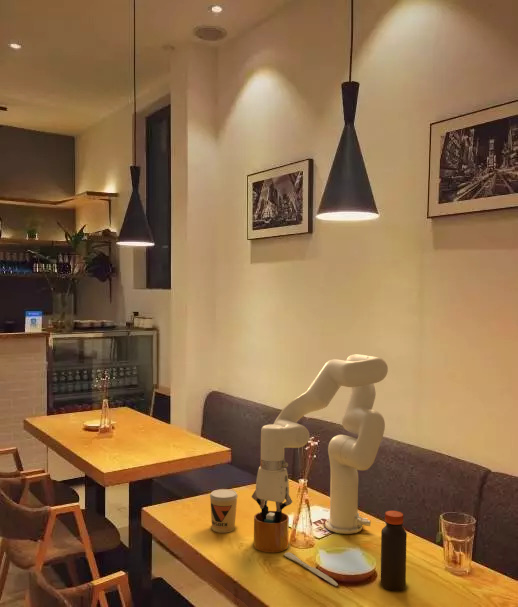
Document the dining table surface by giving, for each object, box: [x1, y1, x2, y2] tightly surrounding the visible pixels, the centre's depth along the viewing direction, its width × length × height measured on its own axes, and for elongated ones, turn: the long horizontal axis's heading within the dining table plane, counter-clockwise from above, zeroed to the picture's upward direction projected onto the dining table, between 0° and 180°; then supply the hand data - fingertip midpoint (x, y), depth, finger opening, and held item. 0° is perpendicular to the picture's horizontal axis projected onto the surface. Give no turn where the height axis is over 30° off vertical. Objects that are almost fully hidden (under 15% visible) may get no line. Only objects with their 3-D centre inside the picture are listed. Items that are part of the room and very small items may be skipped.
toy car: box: [264, 512, 275, 523], centre depth 190 cm, size 6×3×3 cm, turn 156°
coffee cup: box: [209, 488, 238, 534], centre depth 203 cm, size 9×9×12 cm
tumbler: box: [253, 510, 290, 553], centre depth 190 cm, size 11×11×9 cm
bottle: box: [379, 510, 408, 592], centre depth 165 cm, size 7×7×20 cm
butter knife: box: [283, 551, 339, 587], centre depth 174 cm, size 1×24×3 cm
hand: (271, 520), depth 190 cm, fingers open, 3 cm apart
